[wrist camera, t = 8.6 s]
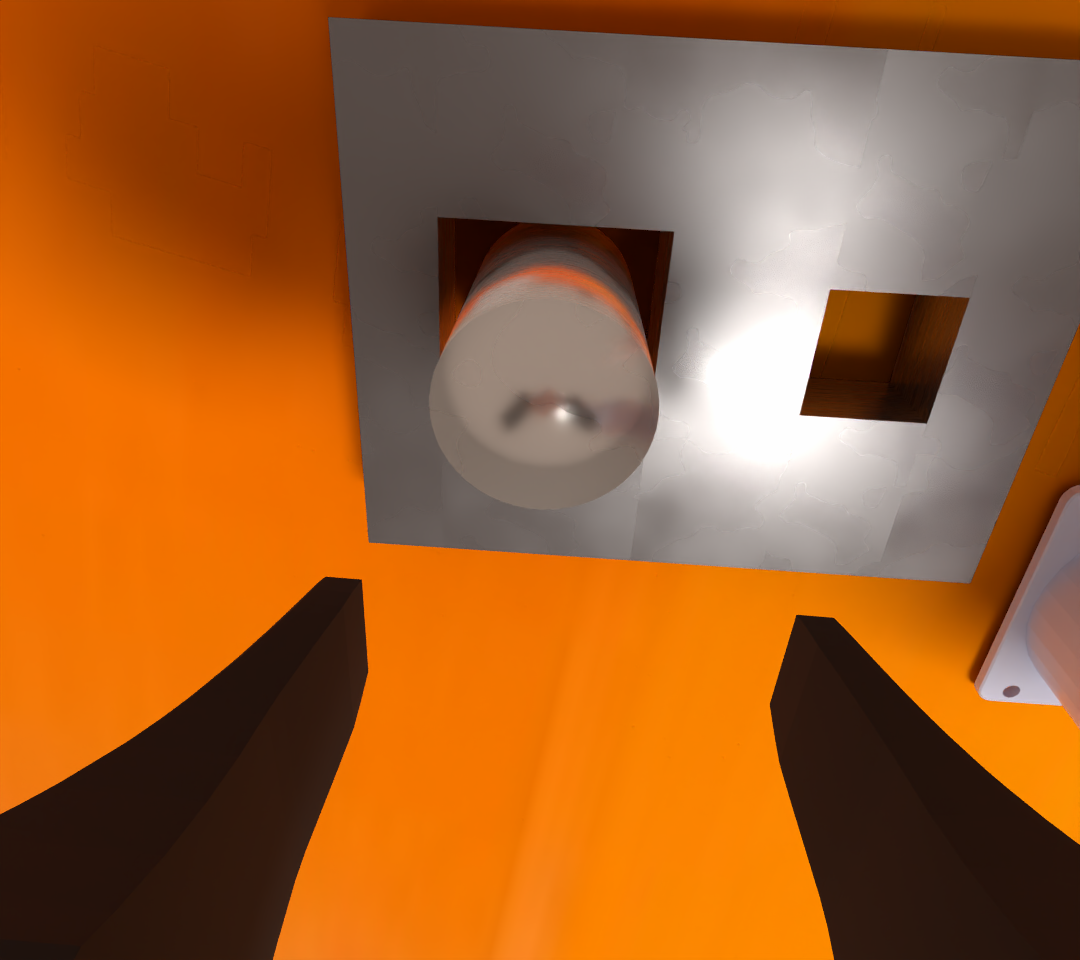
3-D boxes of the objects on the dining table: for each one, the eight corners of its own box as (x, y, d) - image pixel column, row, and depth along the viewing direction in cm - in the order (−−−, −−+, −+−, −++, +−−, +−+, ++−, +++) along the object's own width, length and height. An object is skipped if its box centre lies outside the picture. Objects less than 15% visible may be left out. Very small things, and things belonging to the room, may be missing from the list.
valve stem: (647, 228, 18) (682, 317, 12) (616, 381, 20) (634, 523, 14) (483, 204, 18) (436, 281, 12) (469, 359, 20) (422, 493, 14)
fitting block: (1105, 64, 16) (1188, 66, 14) (932, 530, 22) (970, 583, 20) (361, 21, 16) (327, 17, 14) (389, 494, 22) (369, 542, 20)
